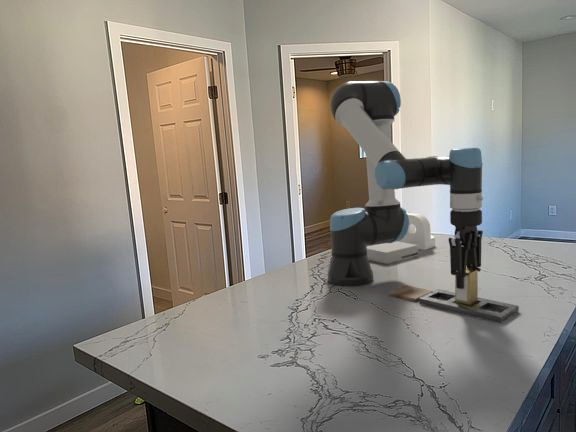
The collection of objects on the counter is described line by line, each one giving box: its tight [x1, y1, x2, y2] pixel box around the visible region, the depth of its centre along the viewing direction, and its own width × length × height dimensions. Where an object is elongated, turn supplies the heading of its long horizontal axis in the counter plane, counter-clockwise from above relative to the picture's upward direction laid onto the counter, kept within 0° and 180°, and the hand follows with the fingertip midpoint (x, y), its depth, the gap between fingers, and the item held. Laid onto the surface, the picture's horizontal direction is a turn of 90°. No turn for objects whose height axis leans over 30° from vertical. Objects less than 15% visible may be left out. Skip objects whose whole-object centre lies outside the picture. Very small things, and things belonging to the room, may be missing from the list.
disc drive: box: [367, 241, 419, 265], centre depth 177 cm, size 18×22×5 cm
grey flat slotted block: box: [418, 288, 519, 324], centre depth 115 cm, size 22×10×2 cm, turn 41°
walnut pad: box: [388, 285, 434, 303], centre depth 128 cm, size 9×9×1 cm
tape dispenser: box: [398, 211, 436, 251], centre depth 191 cm, size 12×18×14 cm, turn 41°
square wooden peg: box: [454, 267, 479, 307], centre depth 115 cm, size 4×4×10 cm
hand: (466, 297), depth 115 cm, fingers closed on square wooden peg, 4 cm apart
